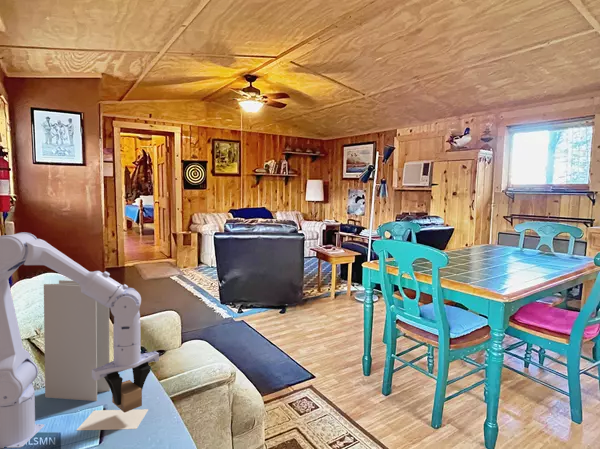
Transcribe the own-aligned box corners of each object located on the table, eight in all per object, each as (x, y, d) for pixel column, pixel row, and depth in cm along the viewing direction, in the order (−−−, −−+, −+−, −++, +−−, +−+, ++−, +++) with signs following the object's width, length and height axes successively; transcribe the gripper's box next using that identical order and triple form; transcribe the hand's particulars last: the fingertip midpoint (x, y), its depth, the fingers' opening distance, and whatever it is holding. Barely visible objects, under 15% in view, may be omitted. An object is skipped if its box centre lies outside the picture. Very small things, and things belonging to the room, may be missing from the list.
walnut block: (141, 405, 86) (141, 388, 85) (124, 412, 83) (124, 395, 82) (129, 395, 90) (129, 379, 90) (112, 402, 87) (112, 385, 87)
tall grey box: (110, 392, 100) (109, 282, 98) (96, 402, 94) (95, 286, 93) (61, 388, 101) (59, 280, 100) (45, 399, 95) (43, 284, 94)
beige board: (76, 432, 82) (76, 430, 82) (93, 412, 90) (93, 410, 90) (136, 430, 82) (136, 428, 82) (148, 411, 90) (148, 409, 90)
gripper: (149, 330, 94) (149, 383, 94) (86, 346, 83) (87, 405, 83) (163, 337, 89) (163, 392, 89) (98, 354, 78) (99, 417, 79)
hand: (127, 399), depth 86 cm, fingers closed on walnut block, 4 cm apart
